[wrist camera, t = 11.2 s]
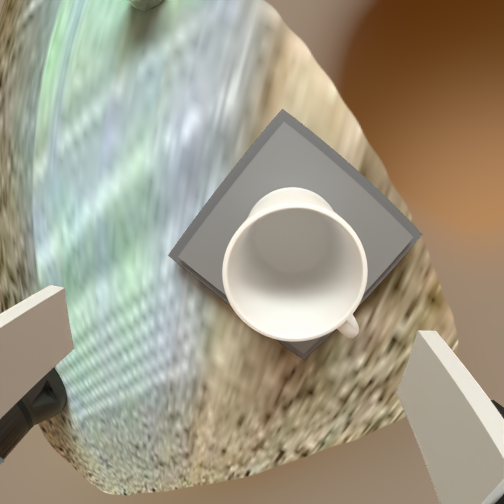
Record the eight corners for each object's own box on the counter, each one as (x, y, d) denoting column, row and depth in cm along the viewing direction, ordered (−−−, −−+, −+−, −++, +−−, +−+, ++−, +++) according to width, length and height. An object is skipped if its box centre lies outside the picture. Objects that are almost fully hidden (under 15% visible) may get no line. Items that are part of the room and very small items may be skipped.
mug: (372, 275, 29) (417, 336, 17) (297, 321, 31) (300, 401, 19) (305, 168, 27) (318, 165, 16) (226, 222, 29) (187, 255, 18)
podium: (302, 346, 36) (304, 365, 32) (177, 248, 34) (164, 258, 31) (411, 228, 31) (426, 236, 27) (282, 114, 30) (282, 106, 26)
